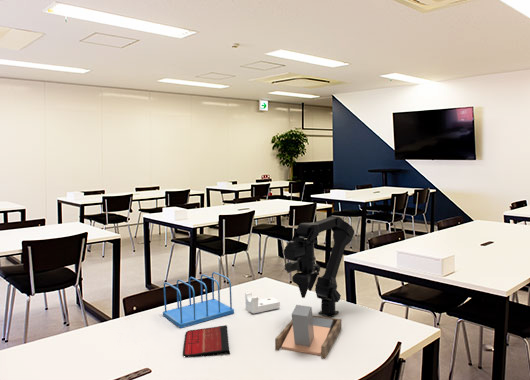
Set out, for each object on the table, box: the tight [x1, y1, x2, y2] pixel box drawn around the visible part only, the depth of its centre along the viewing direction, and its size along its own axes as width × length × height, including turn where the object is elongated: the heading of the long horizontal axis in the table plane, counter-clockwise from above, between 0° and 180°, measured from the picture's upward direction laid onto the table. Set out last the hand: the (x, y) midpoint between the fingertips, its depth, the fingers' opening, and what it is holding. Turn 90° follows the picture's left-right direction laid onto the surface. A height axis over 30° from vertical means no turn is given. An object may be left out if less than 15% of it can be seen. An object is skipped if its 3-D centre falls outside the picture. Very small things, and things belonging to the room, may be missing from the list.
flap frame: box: [274, 314, 342, 359], centre depth 158 cm, size 25×18×4 cm
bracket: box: [244, 292, 281, 314], centre depth 188 cm, size 13×7×8 cm, turn 118°
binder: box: [182, 324, 231, 358], centre depth 156 cm, size 16×2×21 cm
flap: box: [281, 317, 334, 357], centre depth 157 cm, size 20×14×4 cm
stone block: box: [291, 304, 314, 347], centre depth 150 cm, size 6×6×12 cm
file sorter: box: [162, 271, 235, 329], centre depth 183 cm, size 25×17×15 cm
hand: (306, 294), depth 171 cm, fingers open, 9 cm apart
